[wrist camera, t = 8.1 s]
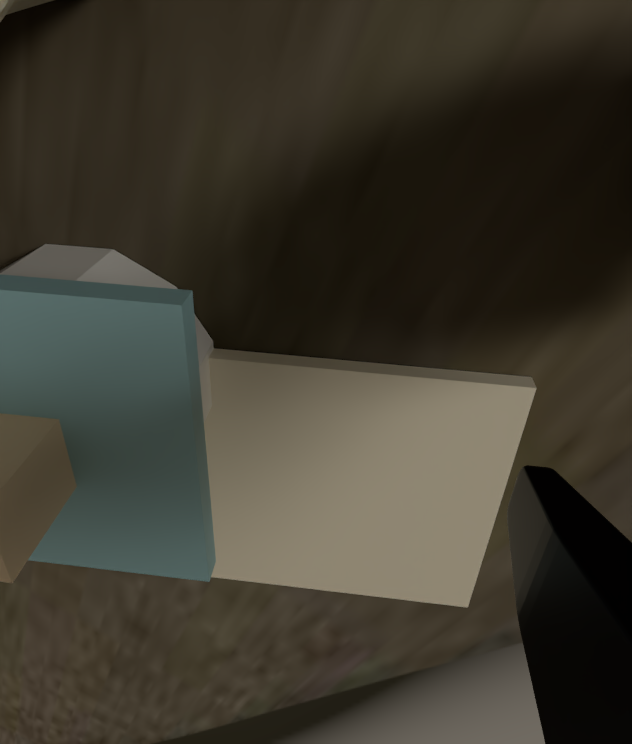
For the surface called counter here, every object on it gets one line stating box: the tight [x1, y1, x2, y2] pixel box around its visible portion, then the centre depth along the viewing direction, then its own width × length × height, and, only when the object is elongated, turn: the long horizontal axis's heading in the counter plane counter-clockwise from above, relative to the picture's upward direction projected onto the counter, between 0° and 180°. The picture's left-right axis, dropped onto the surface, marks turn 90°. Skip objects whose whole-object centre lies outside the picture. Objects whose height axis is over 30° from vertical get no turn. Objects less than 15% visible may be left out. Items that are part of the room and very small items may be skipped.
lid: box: [0, 274, 216, 583], centre depth 17 cm, size 12×12×5 cm
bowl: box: [0, 244, 214, 422], centre depth 22 cm, size 10×10×5 cm
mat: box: [204, 348, 536, 607], centre depth 26 cm, size 14×14×1 cm
